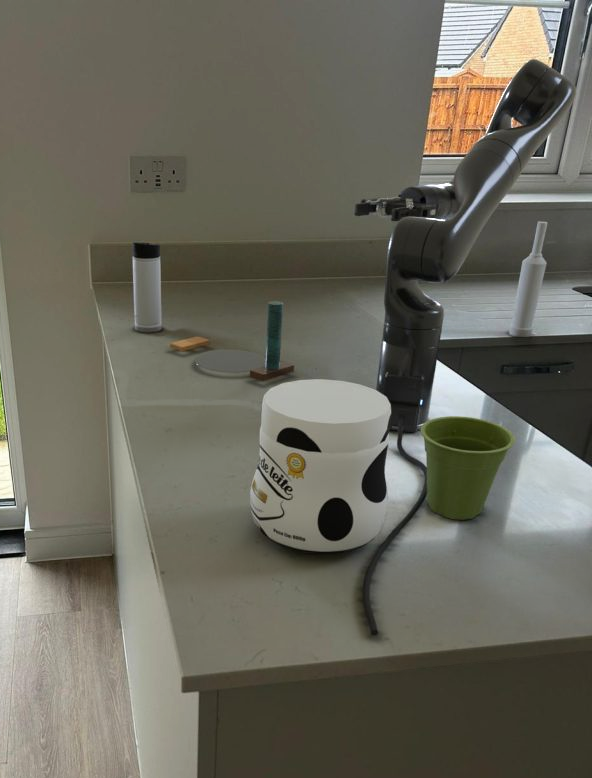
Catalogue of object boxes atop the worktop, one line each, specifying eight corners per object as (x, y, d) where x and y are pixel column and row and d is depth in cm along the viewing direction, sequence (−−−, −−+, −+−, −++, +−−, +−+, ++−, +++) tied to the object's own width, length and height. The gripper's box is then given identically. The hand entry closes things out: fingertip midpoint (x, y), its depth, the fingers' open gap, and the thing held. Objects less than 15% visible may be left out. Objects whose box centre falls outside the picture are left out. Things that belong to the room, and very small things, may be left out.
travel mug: (129, 330, 183) (125, 241, 174) (144, 324, 189) (141, 237, 179) (152, 334, 181) (149, 244, 171) (166, 327, 186) (165, 240, 176)
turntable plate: (257, 381, 153) (257, 375, 152) (184, 373, 157) (184, 367, 156) (274, 359, 166) (274, 353, 165) (206, 352, 170) (206, 346, 169)
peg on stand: (280, 372, 158) (284, 297, 151) (293, 376, 156) (298, 300, 148) (249, 382, 152) (252, 305, 145) (262, 386, 150) (266, 308, 143)
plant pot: (393, 496, 111) (403, 422, 105) (462, 484, 114) (476, 411, 109) (443, 536, 101) (457, 457, 95) (517, 521, 105) (535, 443, 99)
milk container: (222, 535, 100) (225, 403, 92) (294, 488, 112) (303, 367, 104) (340, 582, 91) (356, 440, 83) (406, 525, 103) (425, 396, 95)
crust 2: (196, 352, 169) (196, 343, 168) (184, 348, 172) (184, 339, 171) (209, 349, 172) (210, 340, 171) (197, 345, 174) (197, 336, 173)
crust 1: (182, 356, 167) (182, 347, 166) (170, 352, 169) (169, 343, 168) (196, 352, 169) (196, 343, 168) (183, 348, 172) (183, 339, 171)
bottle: (533, 338, 182) (557, 224, 170) (509, 336, 182) (532, 223, 170) (529, 332, 186) (552, 221, 174) (506, 330, 187) (528, 220, 175)
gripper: (396, 182, 160) (346, 187, 150) (457, 188, 151) (408, 195, 141) (391, 220, 164) (342, 228, 154) (451, 229, 154) (403, 238, 145)
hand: (374, 212), depth 148 cm, fingers open, 8 cm apart
